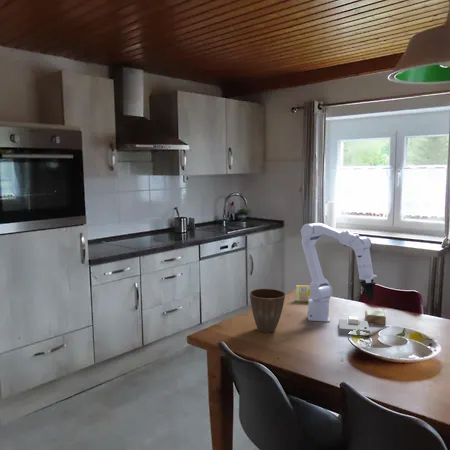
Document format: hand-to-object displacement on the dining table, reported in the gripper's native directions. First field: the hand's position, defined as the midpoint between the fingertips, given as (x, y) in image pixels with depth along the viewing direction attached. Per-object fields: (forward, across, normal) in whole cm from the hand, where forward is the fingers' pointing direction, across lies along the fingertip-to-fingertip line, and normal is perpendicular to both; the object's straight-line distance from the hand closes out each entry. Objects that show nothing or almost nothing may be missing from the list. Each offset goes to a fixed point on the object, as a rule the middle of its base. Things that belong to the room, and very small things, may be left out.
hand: (369, 298), depth 186 cm
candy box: (+5, +44, +26) cm, 51 cm away
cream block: (+13, +8, +8) cm, 17 cm away
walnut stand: (+13, +18, -2) cm, 23 cm away
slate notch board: (+13, +4, +8) cm, 16 cm away
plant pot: (+8, -4, +44) cm, 45 cm away
